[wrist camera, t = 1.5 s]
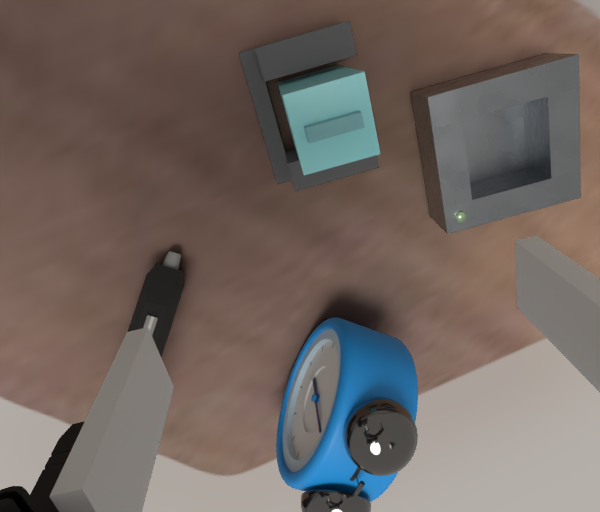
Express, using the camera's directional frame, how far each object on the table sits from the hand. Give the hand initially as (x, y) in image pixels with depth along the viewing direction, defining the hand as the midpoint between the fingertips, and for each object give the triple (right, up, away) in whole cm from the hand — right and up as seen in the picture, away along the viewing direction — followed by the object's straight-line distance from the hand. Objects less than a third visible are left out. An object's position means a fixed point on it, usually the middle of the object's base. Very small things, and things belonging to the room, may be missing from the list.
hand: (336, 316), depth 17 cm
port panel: (+13, +11, +20) cm, 26 cm away
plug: (0, +13, +18) cm, 22 cm away
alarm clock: (+2, -7, +27) cm, 28 cm away
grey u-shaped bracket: (0, +13, +18) cm, 22 cm away
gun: (-14, -4, +24) cm, 28 cm away
